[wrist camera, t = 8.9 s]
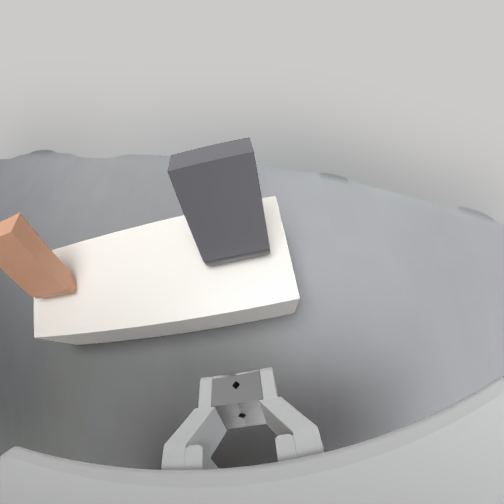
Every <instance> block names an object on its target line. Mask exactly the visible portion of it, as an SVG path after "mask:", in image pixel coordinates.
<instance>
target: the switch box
mask: <svg viewBox="0 0 504 504" xmlns="http://www.w3.org/2000/svg"><path fill="white" fill-rule="evenodd" d="M262 203H263V209H264V215H265V221H266V227H267V233H268V239H269V245H270V253H269V254H264V255H259V256H254V257H249V258H244V259H239V260H234V261H229V262H224V263H219V264H214V265H209V266H206V265H205V263H204V262H203V260H202V257H201V255H200V253H199V250H198V248H197V245H196V243H195V240H194V238H193V235H192V233H191V231H190V228H189V226H188V223H187V221H186V218H185V215H183V216H179V217H174V218H170V219H166V220H162V221H158V222H154V223H149V224H145V225H141V226H138V227H134V228H130V229H126V230H122V231H118V232H114V233H111V234H107V235H103V236H100V237H96V238H92V239H89V240H85V241H82V242H78V243H75V244H71V245H68V246H64V247H61V248H58V249H54V250H51V251H52V252H53V253H54V254H55V255H56V256H57V257H58V258H59V260H60V261H61V262H62V263H63V264H64V265H65V266H66V267H67V268H68V269H69V270H70V271H71V274H70V275H72V276H73V277H74V278H75V281H76V289H75V291H74V292H70V293H65V294H60V295H54V296H49V297H44V298H39V299H37V298H35V297H34V338H39V339H45V340H51V341H56V342H63V343H69V344H76V345H83V344H95V343H106V342H116V341H125V340H134V339H143V338H151V337H159V336H166V335H174V334H181V333H187V332H194V331H201V330H207V329H213V328H219V327H225V326H231V325H237V324H242V323H248V322H253V321H258V320H263V319H268V318H274V317H278V316H283V315H288V314H293V313H295V311H296V308H297V305H298V302H299V299H300V297H299V293H298V288H297V284H296V280H295V275H294V271H293V267H292V262H291V258H290V254H289V249H288V245H287V241H286V237H285V233H284V229H283V225H282V220H281V216H280V212H279V208H278V204H277V200H276V197H275V196H273V197H267V198H262Z"/></svg>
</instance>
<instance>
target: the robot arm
mask: <svg viewBox="0 0 504 504" xmlns="http://www.w3.org/2000/svg"><path fill="white" fill-rule="evenodd" d="M262 424H267V425H268V426H269V428H270V429H271V430H272V431H273V432H274V433H275V434H276V435H277V437H276V438H275V442H276V450H277V458H278V462H273V463H267V464H259V465H252V466H243V467H233V468H220V469H219V468H218V467H217V466H216V464H215V463H214V462H213V460H212V459H211V456H212V455H213V453H214V451H215V450H216V448H217V446H218V445H219V443H220V441H221V440H222V438H223V436H224V435H225V433H226V431H227V429H233V428H240V427H246V426H254V425H262ZM0 504H504V376H502V377H500V378H498V379H496V380H495V381H493V382H491V383H490V384H488V385H487V386H485V387H483V388H482V389H480V390H478V391H476V392H475V393H473V394H471V395H469V396H468V397H466V398H464V399H462V400H460V401H458V402H456V403H455V404H453V405H451V406H449V407H447V408H445V409H443V410H441V411H438V412H436V413H434V414H432V415H430V416H428V417H426V418H423V419H421V420H419V421H416V422H414V423H412V424H409V425H407V426H404V427H402V428H399V429H397V430H394V431H391V432H389V433H386V434H383V435H380V436H377V437H375V438H372V439H369V440H366V441H362V442H359V443H356V444H353V445H349V446H346V447H342V448H339V449H335V450H331V451H327V452H324V449H323V445H322V441H321V437H320V434H319V430H318V427H317V426H316V425H315V424H314V423H312V422H311V421H310V420H309V419H307V418H306V417H305V416H304V415H302V414H301V413H300V412H299V411H298V410H296V409H295V408H294V407H293V406H292V405H290V404H289V403H288V402H287V401H286V400H284V399H283V398H282V397H281V396H280V397H278V392H277V388H276V383H275V378H274V374H273V369H272V367H269V368H264V369H258V370H252V371H247V372H241V373H236V374H229V375H221V376H213V377H204V378H201V380H200V388H199V402H198V408H195V409H194V410H193V411H192V413H191V414H190V415H189V416H188V417H187V419H186V420H185V421H184V422H183V423H182V424H181V426H180V427H179V428H178V429H177V430H176V432H175V433H174V434H173V435H172V436H171V437H170V439H169V440H168V441H167V442H166V443H165V444H164V449H163V457H162V465H161V470H156V469H138V468H126V467H116V466H107V465H100V464H93V463H87V462H81V461H76V460H71V459H66V458H61V457H57V456H52V455H48V454H44V453H40V452H37V451H33V450H30V449H26V448H23V447H20V446H14V447H12V448H11V449H9V450H8V451H6V452H5V453H4V454H3V455H1V456H0Z"/></svg>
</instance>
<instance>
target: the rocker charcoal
mask: <svg viewBox="0 0 504 504" xmlns="http://www.w3.org/2000/svg"><path fill="white" fill-rule="evenodd" d="M168 174H169V176H170V179H171V182H172V184H173V187H174V190H175V192H176V195H177V198H178V200H179V203H180V205H181V208H182V210H183V213H184V215H185V218H186V221H187V223H188V226H189V228H190V231H191V233H192V235H193V238H194V240H195V243H196V245H197V248H198V250H199V253H200V255H201V257H202V260H203V262H204V263H205V265H206V266H209V265H214V264H219V263H224V262H229V261H234V260H239V259H244V258H249V257H254V256H259V255H264V254H269V253H270V245H269V239H268V233H267V227H266V221H265V215H264V209H263V203H262V197H261V191H260V185H259V179H258V173H257V167H256V162H255V157H254V151H253V148H252V144H251V141H250V138H244V139H239V140H234V141H229V142H224V143H220V144H215V145H211V146H207V147H203V148H198V149H194V150H190V151H186V152H182V153H178V154H175V155H171V158H170V162H169V167H168Z"/></svg>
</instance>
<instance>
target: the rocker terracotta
mask: <svg viewBox="0 0 504 504" xmlns="http://www.w3.org/2000/svg"><path fill="white" fill-rule="evenodd" d="M0 268H1V269H2V270H3V271H4V272H5V273H6V274H7V275H8V276H9V277H10V278H11V279H12V280H13V281H15V282H16V283H17V284H18V285H19V286H20V287H21V288H22V289H23V290H24V291H26V292H27V293H28V294H29V295H30V296H31V297H35V298H37V299H39V298H44V297H49V296H54V295H60V294H65V293H70V292H74V291H75V289H76V281H75V278H74V277H73V276H72V275H70V274H71V271H70V270H69V269H68V268H67V267H66V266H65V265H64V264H63V263H62V262H61V261H60V260H59V258H58V257H57V256H56V255H55V254H54V253H53V252H52V251H51V249H50V248H49V247H48V246H47V245H46V244H45V242H44V241H43V240H42V239H41V238H40V237H39V235H38V234H37V233H36V232H35V231H34V229H33V228H32V227H31V226H30V224H29V223H28V222H27V221H26V219H25V218H24V217H23V216H22V214H21V213H18V214H16V215H14V216H12V217H10V218H8V219H6V220H3V221H1V222H0Z"/></svg>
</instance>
